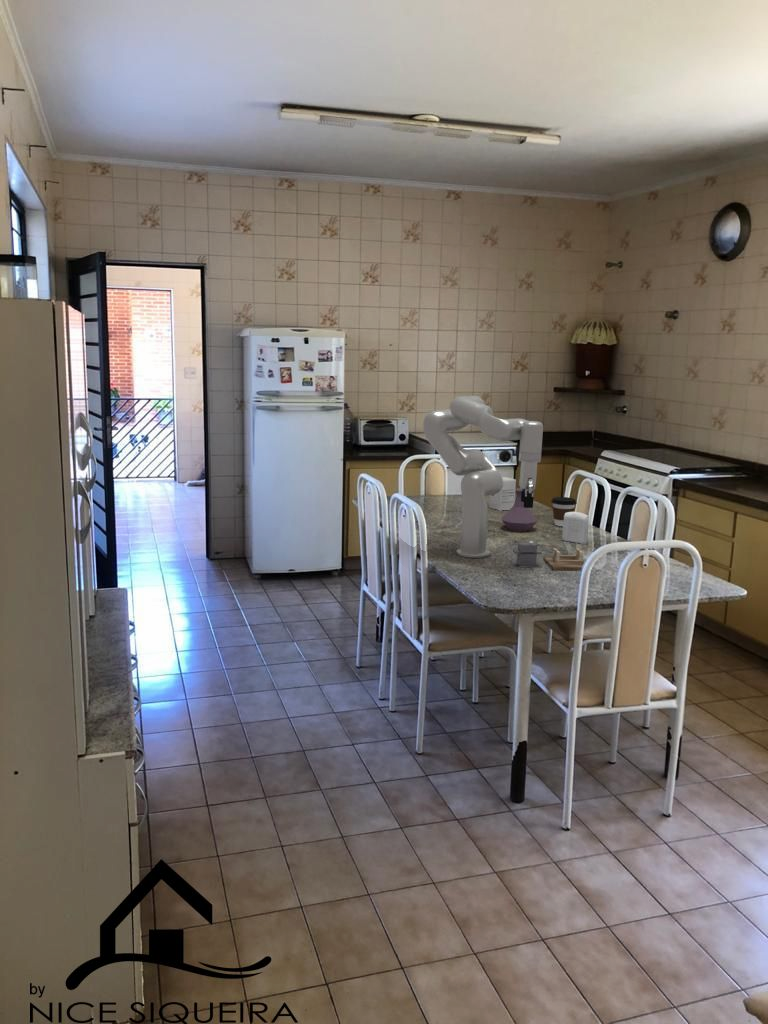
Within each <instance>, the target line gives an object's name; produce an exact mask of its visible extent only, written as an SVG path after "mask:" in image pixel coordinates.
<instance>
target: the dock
mask: <svg viewBox="0 0 768 1024" xmlns="http://www.w3.org/2000/svg"><path fill="white" fill-rule="evenodd" d="M552 550H553V551H552V556H543V562H545V564H546V565H547V566H548V567H549V566H550V567H551V568H552V569H553V570H552V569H551V568H550V567H549V568H550V569H551V570H552V571H577V570H580V571H581V569H582V566H583V563H584V561H585V560H584V558H583V557H584V552H583V550H581V549H580V548H579V547H577V548H575V554H574V555H573V554H571V555H570V554H565V555H563V554H561V552H560V551H559V549H557V548H555V547H554V548H553V549H552Z"/></svg>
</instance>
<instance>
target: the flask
mask: <svg viewBox="0 0 768 1024" xmlns="http://www.w3.org/2000/svg"><path fill="white" fill-rule="evenodd" d="M521 492H522V490H521V488H520V486H519V485H518V487H516V489H515V494H516V495H515V503H514V505H513V507H512V508H511V509H510V510H509V511H507V512H506V513H504V514H503V515H502V517H501V518H500V519H501V521H502V523H503V524H504V525H505V527H506V528H507V529H508V530H509V529H510V531H512V530H514V531H513V532H521V531H524V532H527V530H529V531H530V530H531V529H533V527H534V526H535V525H536V524H537V523H538V517H536V516H535V514H534V513H533V512H532V511H531V510H530V508H524V502H521Z"/></svg>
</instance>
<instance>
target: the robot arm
mask: <svg viewBox="0 0 768 1024" xmlns="http://www.w3.org/2000/svg"><path fill="white" fill-rule="evenodd" d="M469 425H472V426H474V427H477V428H478V429H479V431H480V432H481V433H482V434H483V435H485V436H487V437H489V438H490V439H491V438H492V439H494V440H497V441H500V442H509V441H519V440H520V441H519V452H518V454H519V455H518V461H519V462H521V463H520V471H519V480H518V481H519V482H518V487H519V486H520V488H521V490H522V492H521V502H524V508H529V509H533V508H534V491H535V489H536V484H537V476H538V475H537V473H538V463H541V460H542V447H543V434H544V433H543V432H544V425H543V423H542V422H540V421H537V420H527V419H525V418H518V417H517V418H504V419H502V418H499V417H496V416H494V412H493V408H491V406H489V405H486V403H485V401H484V399H482V398H481V397H480V396H478V395H462V396H457V397H455V398H453V399H452V400H451V401H450V402H449V408H448V409H447V408H446V409H436V410H433V411H430V412H428V413H427V414H426V415H425V416H424V418H423V425H422V426H423V429H422V430H423V434H424V436H425V438H426V440H427V442H428V443H429V444H430V446H431V447H432V448H433V449H434V450H435V451H436V452H437V453H438V455H439V456H440V457H441V459H442V460H443V462H444V463H445V464H446V466H447V467H448V468H449V469H450V471H451V472H452V473H453V474H454V475H455V476H458V477H459V476H461V477H462V476H463V477H462V478H461V481H460V491H461V500H462V504H461V505H462V509H461V512H462V513H461V514H462V515H461V518H462V519H461V535H460V537H461V538H460V540H461V541H460V547H459V548H457V549H456V554H457V555H458V556H460V557H463V558H464V557H465V558H468V559H472V558H473V559H480V558H481V559H482V558H487V557H489V556H490V555H491V551H490V550H489V549H487V539H488V538H487V535H488V514H489V513H488V511H489V510H488V509H489V506H488V504H487V500H486V498H485V497H486V496H490V495H492V494H496V493H498V492H499V491H500V490H501V489H502V487H503V479H502V477H503V476H502V474H501V473H500V471H499V470H498V468H496V466H495V465H494V464H493V463H492V461H491V460H490V459H489V457H488V456H487V454H486V453H484V452H483V451H481V450H480V449H475V448H474V449H465V448H463V446H461V444H460V442H459V441H458V440H457V439H456V438H455V437H454V436H452V435H451V434H449V433H447V432H456V431H460V430H461V429H464V428H465V427H467V426H469Z"/></svg>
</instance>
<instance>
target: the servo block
mask: <svg viewBox="0 0 768 1024" xmlns="http://www.w3.org/2000/svg"><path fill="white" fill-rule="evenodd" d="M512 552H513V554H514V555H517V560H516V564H517V565H518V567H519V566H536V567H537V558H538V557H537V555H542V551H541V550H540V549H539V548H538V544H537V543H536V542H534V541H532V540H531V541H530V540H529V541H527V542H524V541H523V542H520V541H519V542H518V543H517V548H516V549H515V548H513V549H512Z"/></svg>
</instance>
